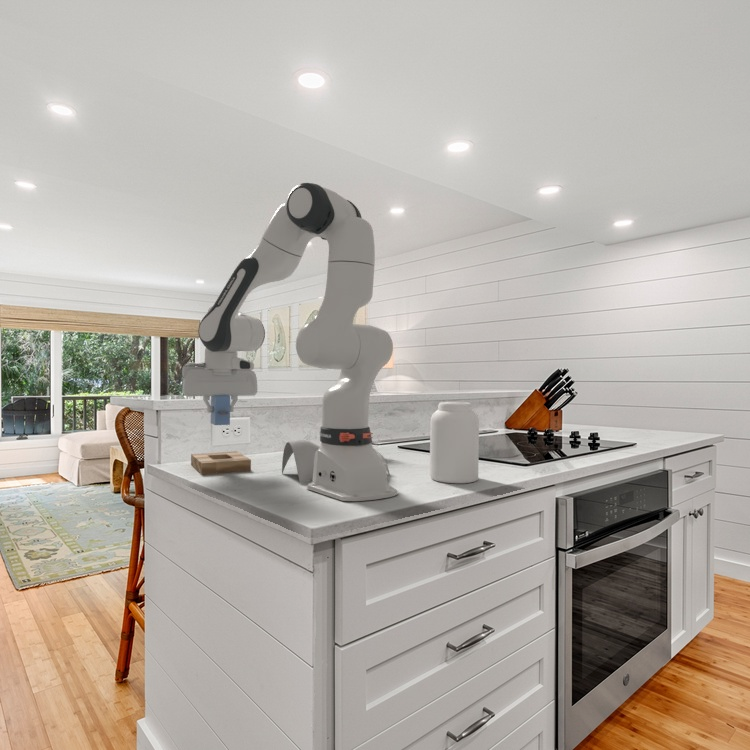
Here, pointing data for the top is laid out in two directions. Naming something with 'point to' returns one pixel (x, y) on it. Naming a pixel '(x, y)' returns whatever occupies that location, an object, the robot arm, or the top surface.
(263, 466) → the top surface
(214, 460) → the wooden base block
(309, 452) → the sculpture
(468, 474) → the white lidded jar
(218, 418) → the block
